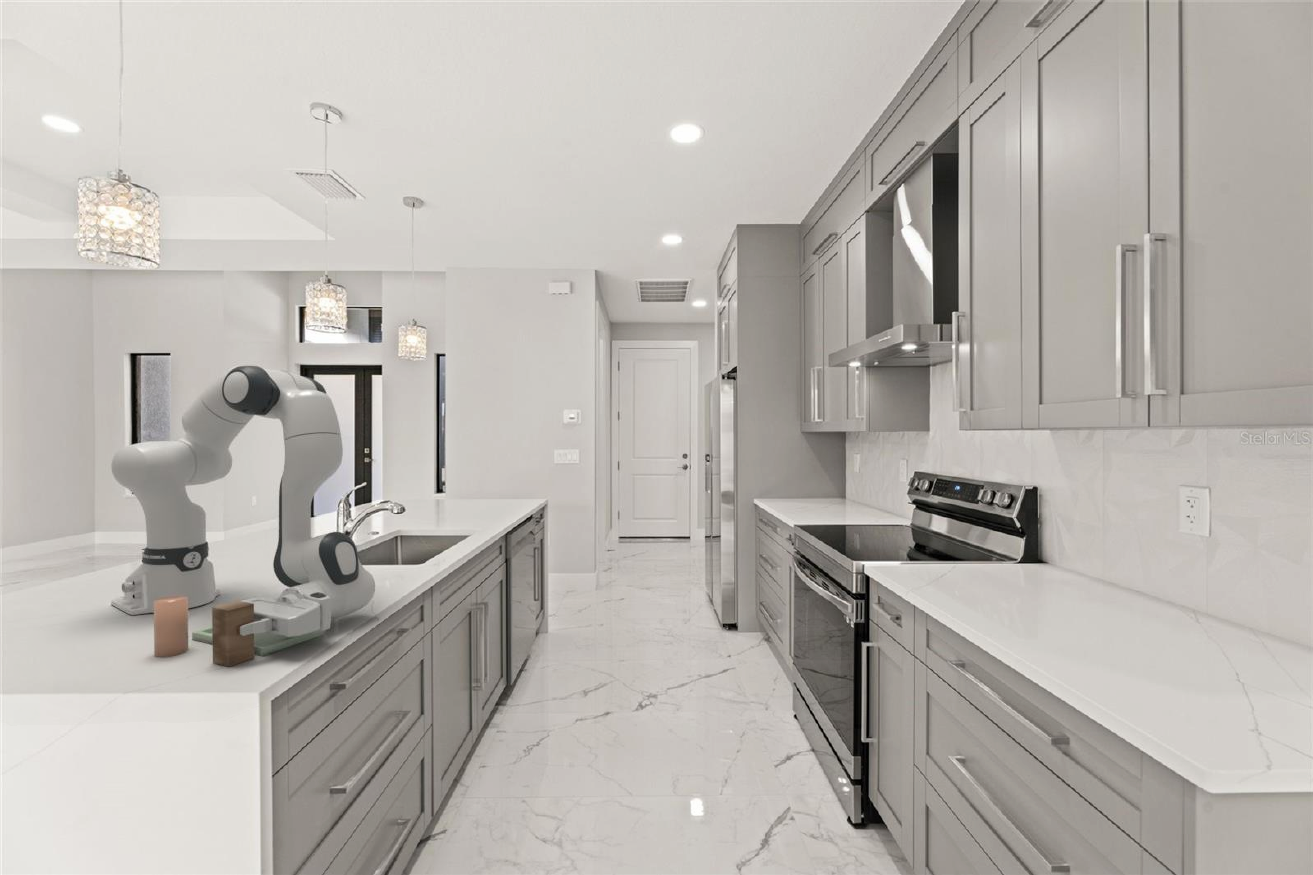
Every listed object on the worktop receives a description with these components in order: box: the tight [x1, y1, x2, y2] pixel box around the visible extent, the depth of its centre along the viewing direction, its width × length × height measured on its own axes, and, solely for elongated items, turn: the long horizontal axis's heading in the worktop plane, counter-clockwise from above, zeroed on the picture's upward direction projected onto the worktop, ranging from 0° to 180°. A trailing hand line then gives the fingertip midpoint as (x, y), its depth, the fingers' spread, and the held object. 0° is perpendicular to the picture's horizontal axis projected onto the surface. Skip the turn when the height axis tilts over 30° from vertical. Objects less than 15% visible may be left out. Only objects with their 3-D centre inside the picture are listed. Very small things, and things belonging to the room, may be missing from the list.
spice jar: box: [153, 595, 189, 658], centre depth 114 cm, size 5×5×10 cm
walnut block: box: [211, 600, 255, 668], centre depth 110 cm, size 4×4×10 cm
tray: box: [191, 626, 326, 657], centre depth 122 cm, size 21×13×2 cm, turn 67°
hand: (228, 628), depth 109 cm, fingers closed on walnut block, 4 cm apart
